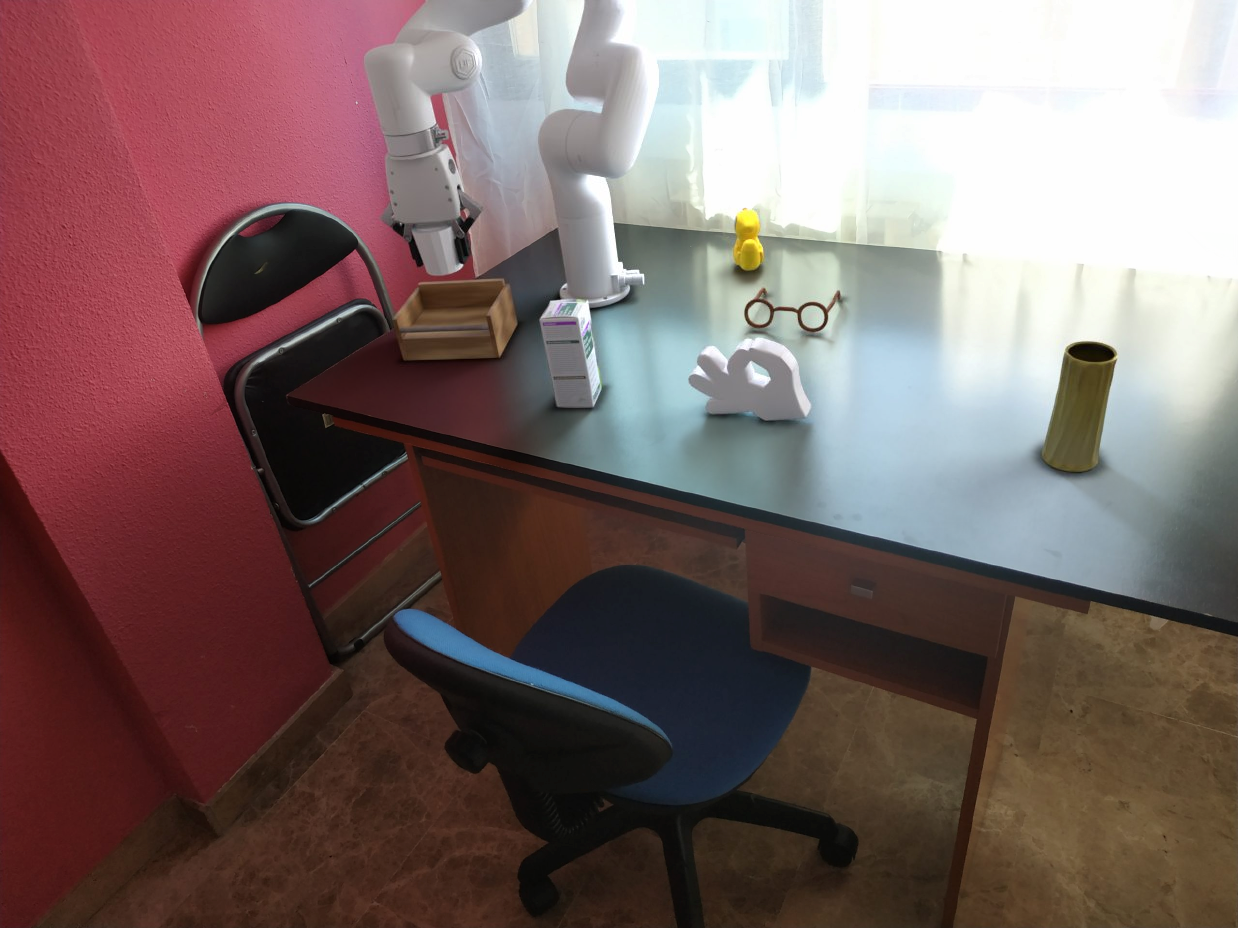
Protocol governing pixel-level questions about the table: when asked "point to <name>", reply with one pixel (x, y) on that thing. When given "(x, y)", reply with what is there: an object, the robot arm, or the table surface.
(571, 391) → the syrup box
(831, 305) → the glasses
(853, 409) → the table surface
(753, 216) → the duckling
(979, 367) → the table surface
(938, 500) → the table surface
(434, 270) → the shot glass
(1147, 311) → the table surface
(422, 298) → the spice rack
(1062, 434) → the vase
